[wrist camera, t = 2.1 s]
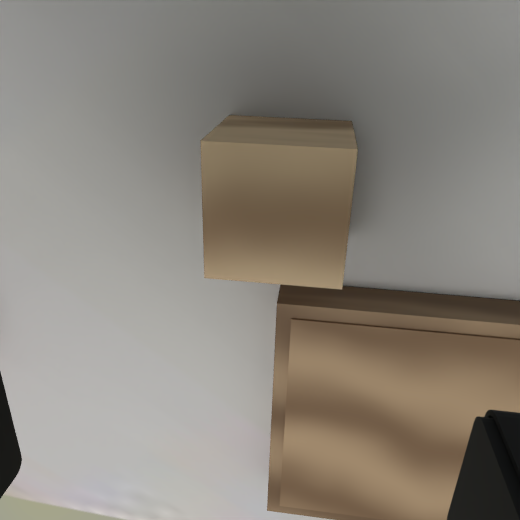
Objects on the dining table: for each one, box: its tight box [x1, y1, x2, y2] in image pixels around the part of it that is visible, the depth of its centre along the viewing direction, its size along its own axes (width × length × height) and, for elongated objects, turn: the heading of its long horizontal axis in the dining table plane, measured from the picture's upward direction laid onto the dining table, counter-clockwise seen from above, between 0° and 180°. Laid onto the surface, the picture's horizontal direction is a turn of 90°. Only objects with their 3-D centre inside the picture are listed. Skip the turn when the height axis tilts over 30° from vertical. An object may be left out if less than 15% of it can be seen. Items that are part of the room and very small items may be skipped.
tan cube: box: [201, 115, 358, 289], centre depth 23 cm, size 6×6×6 cm
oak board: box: [267, 284, 520, 520], centre depth 29 cm, size 16×16×3 cm
